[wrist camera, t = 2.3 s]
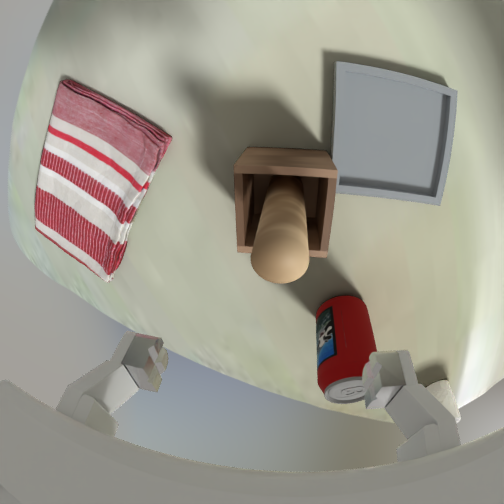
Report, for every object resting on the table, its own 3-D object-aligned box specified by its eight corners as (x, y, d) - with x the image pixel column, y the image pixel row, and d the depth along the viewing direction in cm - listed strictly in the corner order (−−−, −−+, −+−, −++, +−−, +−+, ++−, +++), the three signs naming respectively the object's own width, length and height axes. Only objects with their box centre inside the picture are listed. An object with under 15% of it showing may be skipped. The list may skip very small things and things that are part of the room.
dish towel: (179, 134, 24) (168, 139, 22) (116, 278, 37) (108, 290, 34) (69, 77, 21) (54, 79, 19) (38, 221, 33) (28, 229, 31)
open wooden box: (326, 150, 23) (337, 170, 18) (320, 220, 27) (326, 257, 21) (247, 146, 24) (233, 165, 18) (249, 216, 28) (237, 252, 22)
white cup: (445, 390, 44) (454, 426, 36) (416, 399, 46) (422, 437, 38) (454, 374, 40) (466, 413, 32) (423, 383, 42) (431, 425, 34)
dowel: (303, 171, 24) (312, 236, 14) (301, 203, 26) (306, 285, 16) (268, 169, 24) (250, 233, 14) (268, 201, 26) (251, 281, 16)
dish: (450, 89, 17) (457, 90, 16) (434, 200, 23) (440, 205, 22) (333, 62, 18) (336, 61, 17) (327, 187, 25) (329, 192, 24)
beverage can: (309, 298, 33) (310, 384, 23) (362, 285, 31) (382, 369, 21) (321, 332, 36) (324, 410, 26) (369, 320, 34) (383, 398, 24)
